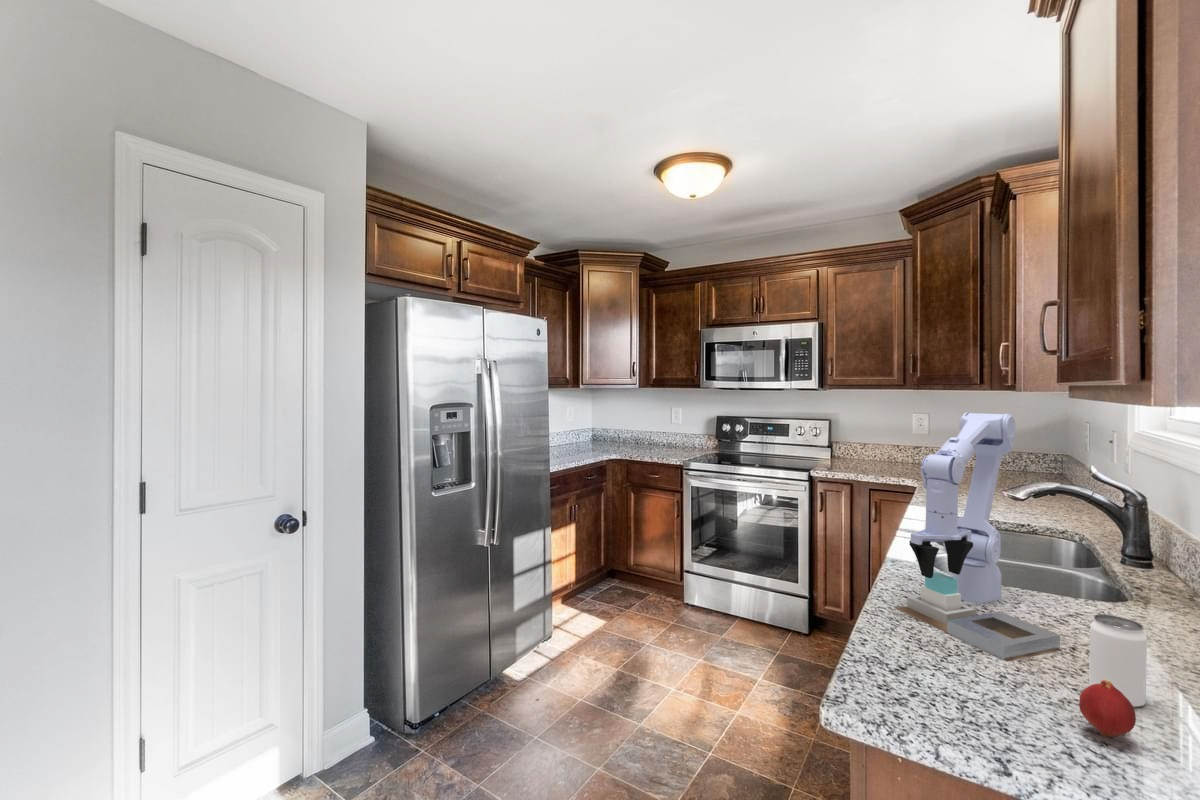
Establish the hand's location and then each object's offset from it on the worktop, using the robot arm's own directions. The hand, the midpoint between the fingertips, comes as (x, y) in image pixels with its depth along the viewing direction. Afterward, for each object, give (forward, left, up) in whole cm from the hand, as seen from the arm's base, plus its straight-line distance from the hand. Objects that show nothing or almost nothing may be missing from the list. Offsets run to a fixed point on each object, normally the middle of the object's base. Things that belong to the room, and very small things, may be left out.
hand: (940, 574), depth 114 cm
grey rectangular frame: (0, 0, -9) cm, 9 cm away
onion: (+13, +37, -9) cm, 40 cm away
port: (0, +13, -9) cm, 16 cm away
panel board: (0, +7, -9) cm, 11 cm away
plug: (0, 0, -8) cm, 8 cm away
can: (0, +31, -9) cm, 32 cm away
